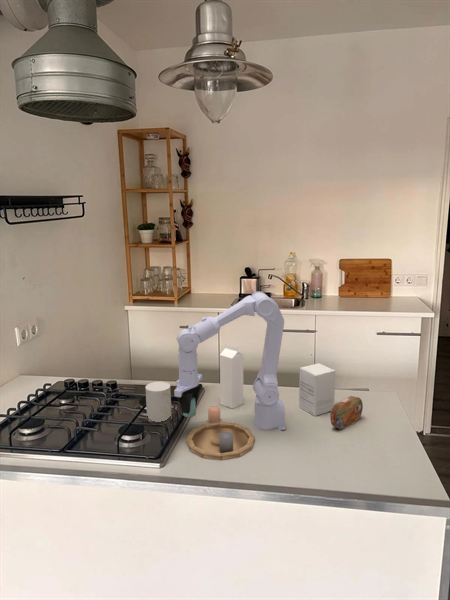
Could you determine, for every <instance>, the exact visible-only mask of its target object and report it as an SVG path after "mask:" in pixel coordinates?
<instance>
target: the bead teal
mask: <svg viewBox="0 0 450 600" xmlns="http://www.w3.org/2000/svg"><path fill="white" fill-rule="evenodd" d="M196 408H197V405H196V404H195V398H194V397H192V399H191V404H190V412H189V414H187V413H183V412H182V416H184V417H186V418H192V417H194V416H196V414H197V413H196V412H197V411H196Z"/></svg>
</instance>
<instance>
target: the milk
mask: <svg viewBox="0 0 450 600" xmlns="http://www.w3.org/2000/svg"><path fill="white" fill-rule="evenodd" d="M224 347H225V348H224V349H223V350H222V351H221V353H220V354H219V397H220V398H219V399H220V400H219V401H220V402H219V403H220V405H222V406H225V407H226V408H229V409H232V410H233V409H235V408H237V407H239V406H241V405H243V404H244V354H243V353H241V352H239V349H238V346H234V345H231V344H224Z"/></svg>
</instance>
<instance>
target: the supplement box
mask: <svg viewBox="0 0 450 600" xmlns="http://www.w3.org/2000/svg"><path fill="white" fill-rule="evenodd" d="M298 380H299V385H298V387H299V389H298V395H299V396H298V407H299V408H300V409H302V410H303V409H304V410H303V411H305V412H307V413H309V414H311V415H312V416H314V417H317V416H321V415H323V414H326V413H329V411H330V412H331V410H332V408H333V406H334V405H335V396H336V395H335V394H336V393H335V390H336V388H335V387H336V386H335V385H336V370H335V369H333V368H330V367H329V366H326V365H324V364H322V363H319V362H318V363H314V364H310V365H306V366H305V365H304V366H302V367H299V379H298Z"/></svg>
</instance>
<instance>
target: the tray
mask: <svg viewBox="0 0 450 600" xmlns="http://www.w3.org/2000/svg"><path fill="white" fill-rule="evenodd" d="M222 432H230V433H232V434H233V451H232V452H226V453H220V451H219V434H220V433H222ZM255 441H256V438H255V435H254V434H253V432H252V431H251V429H250V428H248V427H245V425H244V426H243V425H242V424H239V423H235V422H228V421H227V422H225V421H220V422H215V423H211V422H209V423H204V424H201V425H199V426H198V427H197V426H196V427H195V428H193V429H191V430H190V432H189V433H188V435H187V436H186V441H185V442H186V444H187V447H188V449H189V452H191V453H192V454H194V455H197V456H198V457H200V458H202V459H208V460H209V459H210V460H217V461H223V460H231V459H235V458H241V457H242V456H243V455H245V454H247V453H248V452H251V451H252V450H253V447H254V445H255Z"/></svg>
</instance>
